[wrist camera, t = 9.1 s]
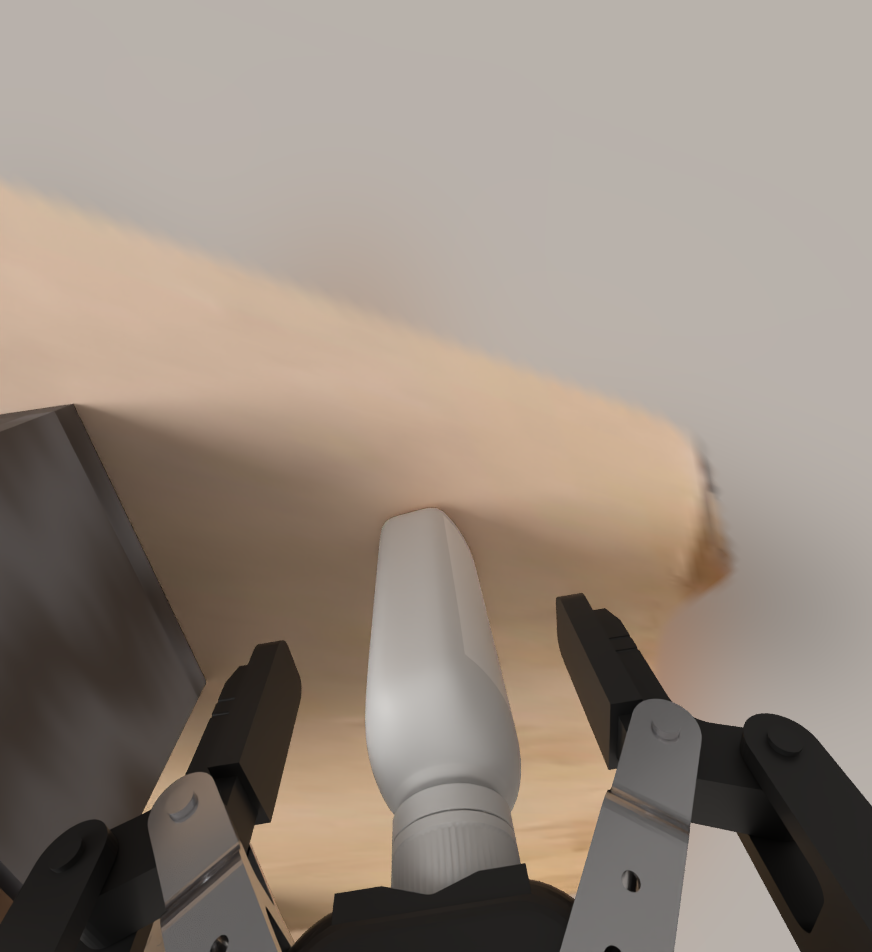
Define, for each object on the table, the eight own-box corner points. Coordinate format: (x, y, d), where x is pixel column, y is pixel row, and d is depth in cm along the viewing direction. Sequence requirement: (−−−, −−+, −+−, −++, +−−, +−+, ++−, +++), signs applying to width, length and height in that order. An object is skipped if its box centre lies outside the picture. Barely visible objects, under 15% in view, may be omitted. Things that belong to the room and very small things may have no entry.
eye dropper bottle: (506, 516, 16) (711, 998, 5) (464, 632, 18) (551, 1145, 8) (388, 493, 16) (352, 991, 5) (359, 616, 18) (288, 1158, 7)
